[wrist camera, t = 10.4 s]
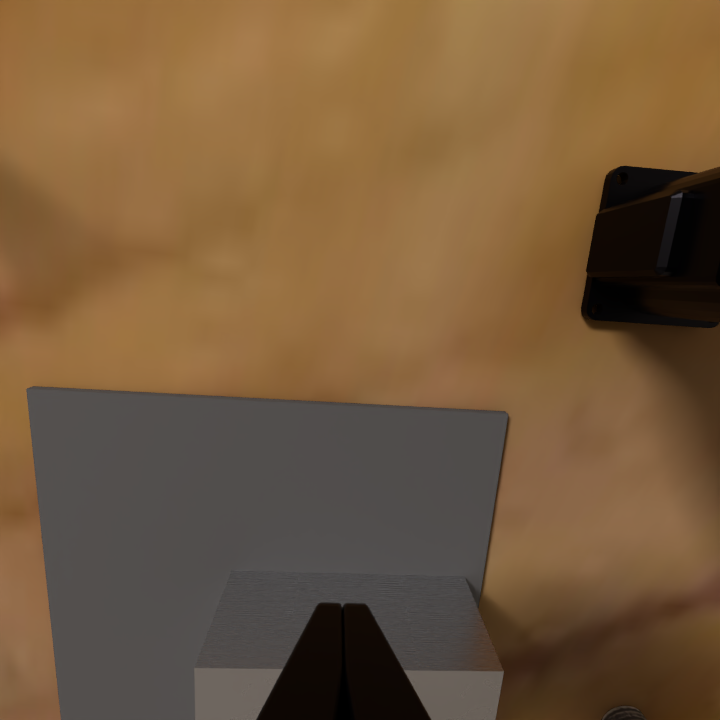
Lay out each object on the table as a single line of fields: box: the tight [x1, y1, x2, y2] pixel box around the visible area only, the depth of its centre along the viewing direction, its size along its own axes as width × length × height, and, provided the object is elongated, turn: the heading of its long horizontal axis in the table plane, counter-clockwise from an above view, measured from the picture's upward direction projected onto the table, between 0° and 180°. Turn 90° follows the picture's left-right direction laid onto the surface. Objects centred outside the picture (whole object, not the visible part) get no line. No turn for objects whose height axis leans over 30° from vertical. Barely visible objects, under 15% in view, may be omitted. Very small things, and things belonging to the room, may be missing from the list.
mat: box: [26, 386, 508, 720], centre depth 20 cm, size 22×22×1 cm
